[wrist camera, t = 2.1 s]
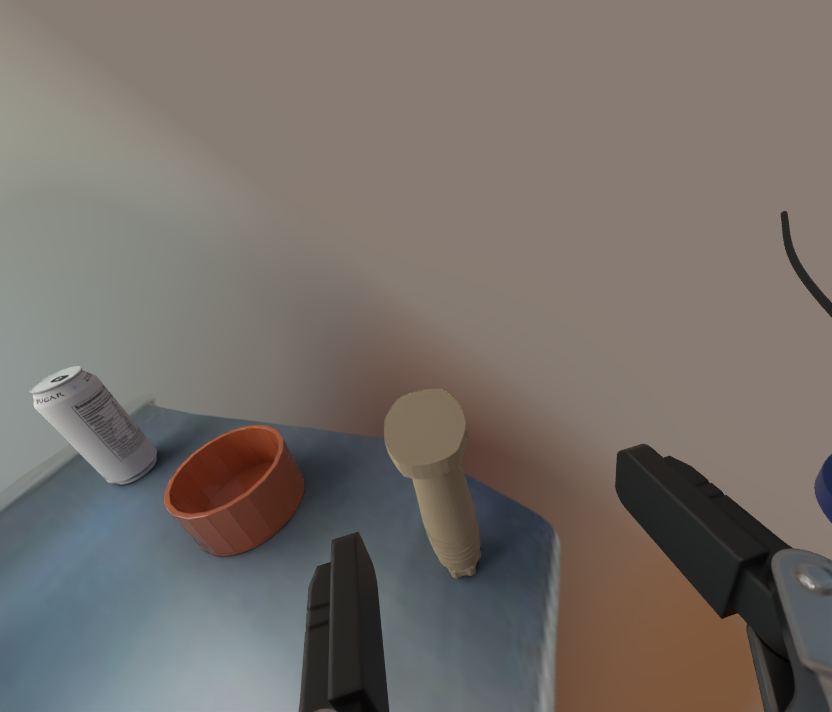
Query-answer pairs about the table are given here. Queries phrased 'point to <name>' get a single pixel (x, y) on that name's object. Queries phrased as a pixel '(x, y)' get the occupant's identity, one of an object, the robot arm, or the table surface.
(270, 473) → the holder
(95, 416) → the energy drink can
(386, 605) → the table surface
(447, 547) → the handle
